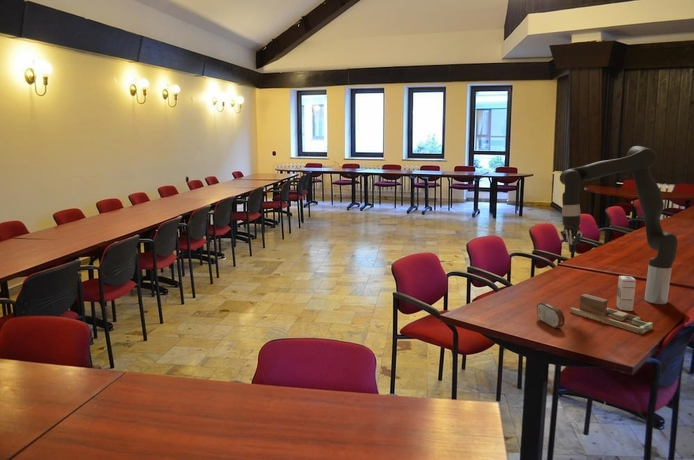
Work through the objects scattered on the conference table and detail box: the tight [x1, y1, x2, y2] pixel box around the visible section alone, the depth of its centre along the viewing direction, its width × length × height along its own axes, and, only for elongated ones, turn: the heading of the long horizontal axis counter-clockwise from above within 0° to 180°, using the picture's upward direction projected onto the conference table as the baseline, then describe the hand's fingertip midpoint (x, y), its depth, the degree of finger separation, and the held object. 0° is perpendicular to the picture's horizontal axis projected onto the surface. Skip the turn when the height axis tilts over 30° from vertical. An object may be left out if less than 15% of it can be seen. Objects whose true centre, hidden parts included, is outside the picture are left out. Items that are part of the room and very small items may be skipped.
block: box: [578, 293, 609, 318], centre depth 229 cm, size 4×10×8 cm, turn 37°
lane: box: [569, 307, 654, 335], centre depth 225 cm, size 14×30×2 cm, turn 37°
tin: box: [536, 301, 566, 329], centre depth 218 cm, size 15×3×8 cm, turn 17°
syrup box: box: [615, 275, 637, 312], centre depth 237 cm, size 6×6×14 cm
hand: (572, 252), depth 239 cm, fingers closed
